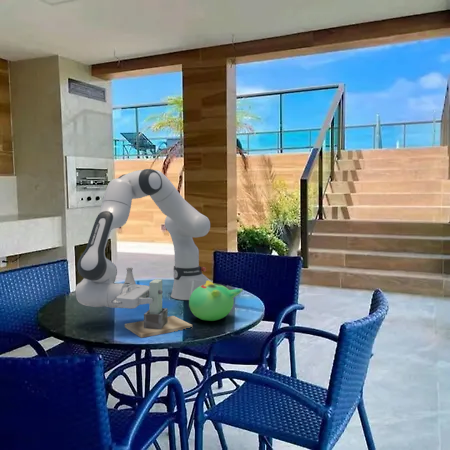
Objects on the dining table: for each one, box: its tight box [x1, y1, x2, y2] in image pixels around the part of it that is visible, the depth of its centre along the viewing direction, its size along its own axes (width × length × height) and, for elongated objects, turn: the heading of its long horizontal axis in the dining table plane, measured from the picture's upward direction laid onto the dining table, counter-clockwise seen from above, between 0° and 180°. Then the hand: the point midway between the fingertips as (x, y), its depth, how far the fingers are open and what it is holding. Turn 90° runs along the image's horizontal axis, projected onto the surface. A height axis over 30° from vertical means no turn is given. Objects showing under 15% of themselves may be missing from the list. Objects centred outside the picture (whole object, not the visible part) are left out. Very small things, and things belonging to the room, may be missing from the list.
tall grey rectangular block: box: [148, 278, 163, 314], centre depth 169 cm, size 6×4×16 cm
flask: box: [124, 267, 137, 285], centre depth 233 cm, size 7×7×10 cm
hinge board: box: [124, 307, 193, 339], centre depth 170 cm, size 20×14×6 cm
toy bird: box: [188, 280, 244, 322], centre depth 181 cm, size 18×17×15 cm
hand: (156, 297), depth 169 cm, fingers open, 8 cm apart
